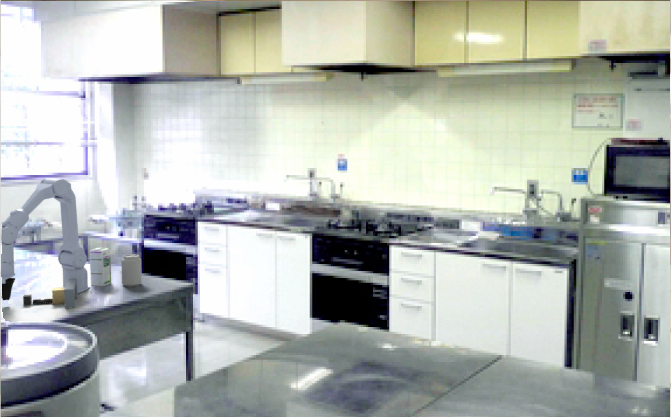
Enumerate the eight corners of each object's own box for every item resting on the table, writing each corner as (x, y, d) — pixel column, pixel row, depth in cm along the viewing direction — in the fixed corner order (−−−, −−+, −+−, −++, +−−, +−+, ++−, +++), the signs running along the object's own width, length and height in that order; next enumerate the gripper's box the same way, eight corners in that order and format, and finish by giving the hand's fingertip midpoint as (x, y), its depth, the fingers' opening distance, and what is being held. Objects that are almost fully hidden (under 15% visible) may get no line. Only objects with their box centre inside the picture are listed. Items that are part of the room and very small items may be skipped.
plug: (23, 306, 231) (22, 292, 230) (24, 303, 235) (24, 289, 234) (64, 303, 235) (64, 289, 235) (65, 300, 239) (65, 287, 238)
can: (117, 285, 263) (117, 256, 261) (130, 282, 270) (129, 252, 268) (133, 287, 260) (132, 257, 259) (145, 283, 267) (145, 254, 266)
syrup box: (103, 286, 261) (103, 250, 259) (90, 285, 262) (89, 249, 261) (111, 283, 267) (110, 247, 265) (98, 282, 268) (97, 247, 266)
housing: (64, 308, 229) (64, 289, 228) (68, 296, 245) (68, 278, 244) (74, 307, 230) (73, 289, 229) (77, 296, 246) (77, 278, 245)
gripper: (-5, 257, 235) (-3, 295, 237) (-13, 265, 221) (-11, 305, 223) (17, 257, 237) (19, 294, 239) (11, 264, 224) (12, 304, 225)
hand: (6, 299), depth 231 cm, fingers closed
